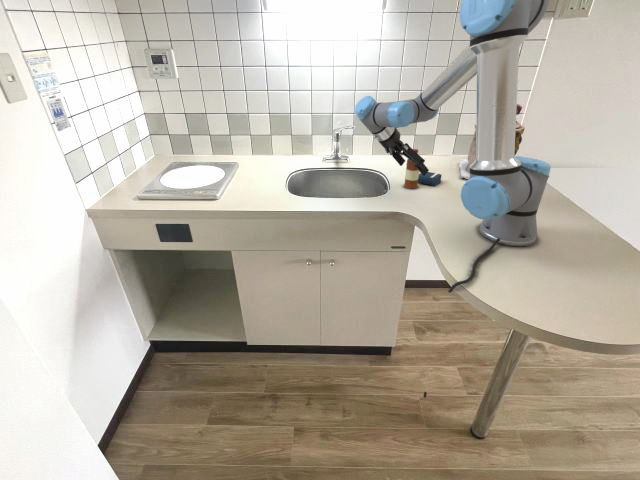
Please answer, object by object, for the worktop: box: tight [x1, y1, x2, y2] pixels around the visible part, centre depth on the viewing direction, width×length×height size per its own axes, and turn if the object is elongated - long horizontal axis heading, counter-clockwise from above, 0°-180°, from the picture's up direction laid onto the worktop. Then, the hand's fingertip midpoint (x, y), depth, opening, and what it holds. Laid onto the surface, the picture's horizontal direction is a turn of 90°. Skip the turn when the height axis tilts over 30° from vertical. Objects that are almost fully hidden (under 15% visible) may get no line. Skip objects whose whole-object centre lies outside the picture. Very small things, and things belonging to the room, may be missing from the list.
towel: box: [418, 171, 443, 187], centre depth 144 cm, size 8×10×3 cm
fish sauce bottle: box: [404, 148, 419, 190], centre depth 137 cm, size 5×5×15 cm
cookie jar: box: [458, 103, 526, 180], centre depth 145 cm, size 25×25×32 cm
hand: (414, 167), depth 137 cm, fingers open, 13 cm apart
